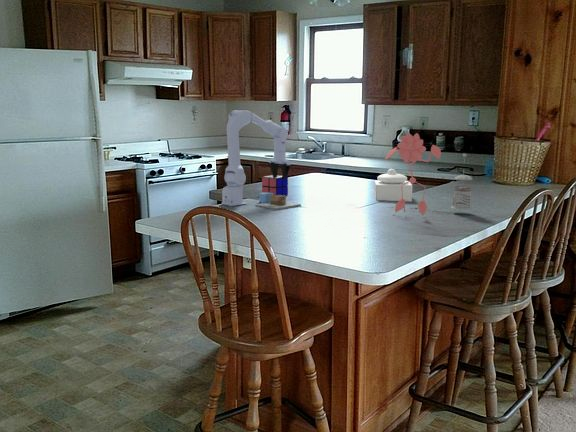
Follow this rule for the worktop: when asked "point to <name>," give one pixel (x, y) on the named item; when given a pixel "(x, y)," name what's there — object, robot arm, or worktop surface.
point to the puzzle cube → (275, 185)
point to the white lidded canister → (392, 187)
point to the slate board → (275, 207)
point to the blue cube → (265, 197)
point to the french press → (462, 193)
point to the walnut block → (278, 200)
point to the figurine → (412, 151)
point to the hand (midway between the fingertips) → (279, 178)
